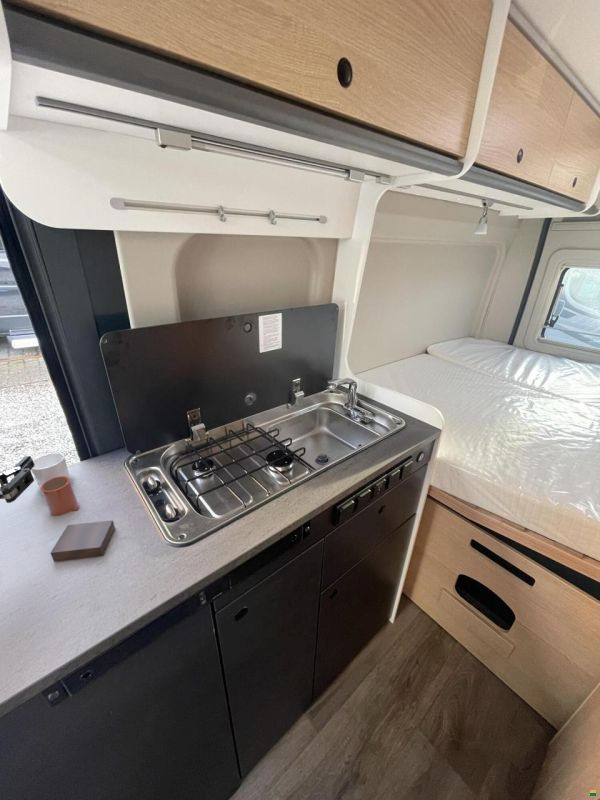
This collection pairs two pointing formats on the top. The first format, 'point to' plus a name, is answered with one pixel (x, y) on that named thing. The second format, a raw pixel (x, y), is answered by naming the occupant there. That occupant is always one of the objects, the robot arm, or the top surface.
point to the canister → (59, 496)
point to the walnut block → (83, 541)
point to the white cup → (49, 467)
